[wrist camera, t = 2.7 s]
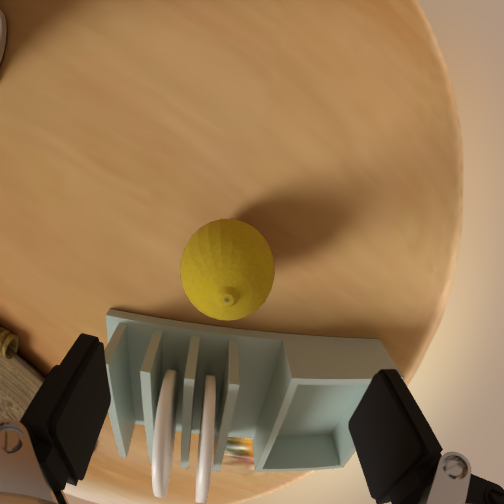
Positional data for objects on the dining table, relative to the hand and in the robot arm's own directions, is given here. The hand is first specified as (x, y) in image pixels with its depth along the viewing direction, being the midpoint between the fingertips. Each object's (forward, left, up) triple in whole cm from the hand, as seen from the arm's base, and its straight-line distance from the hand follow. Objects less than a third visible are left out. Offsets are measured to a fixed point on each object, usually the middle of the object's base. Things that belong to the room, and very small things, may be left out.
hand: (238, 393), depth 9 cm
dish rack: (+14, +3, -14) cm, 20 cm away
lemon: (0, 0, -14) cm, 14 cm away
